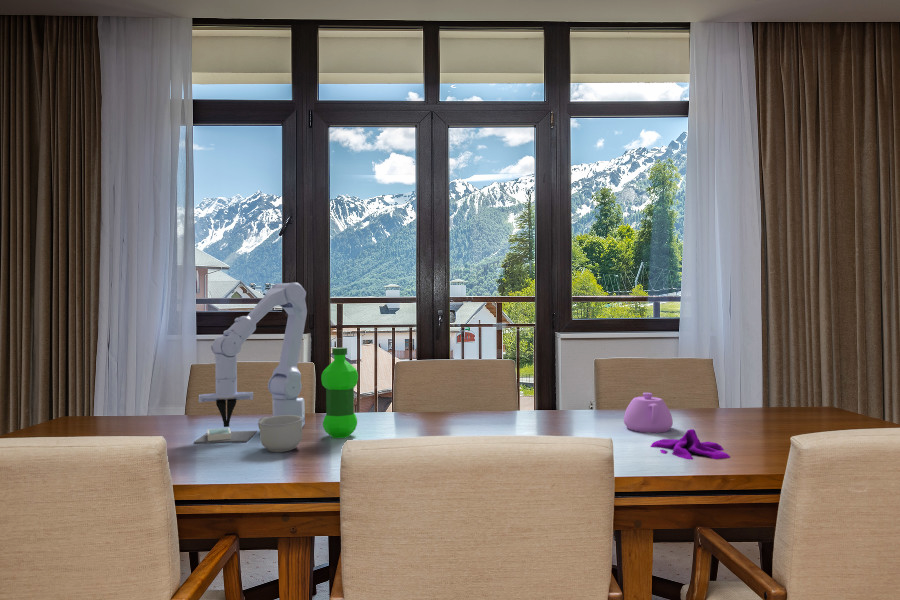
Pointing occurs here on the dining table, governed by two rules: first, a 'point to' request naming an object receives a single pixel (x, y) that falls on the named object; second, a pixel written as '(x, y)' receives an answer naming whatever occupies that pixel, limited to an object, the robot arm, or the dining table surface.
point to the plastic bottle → (339, 395)
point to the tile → (218, 434)
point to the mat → (235, 436)
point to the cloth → (691, 447)
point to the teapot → (648, 414)
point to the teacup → (280, 432)
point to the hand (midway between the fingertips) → (226, 426)
